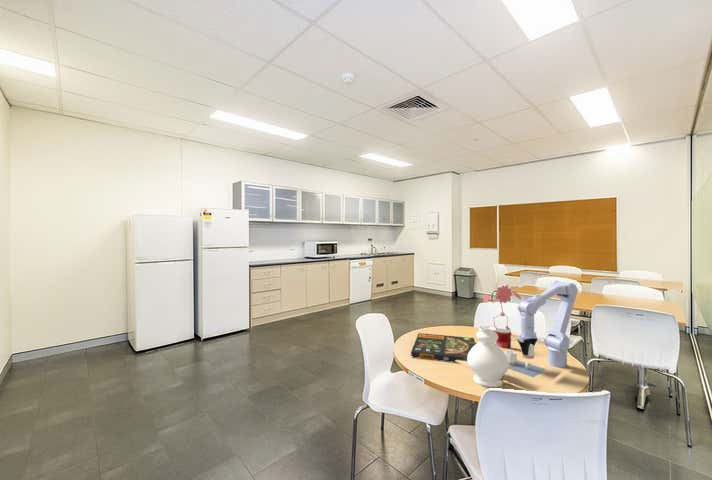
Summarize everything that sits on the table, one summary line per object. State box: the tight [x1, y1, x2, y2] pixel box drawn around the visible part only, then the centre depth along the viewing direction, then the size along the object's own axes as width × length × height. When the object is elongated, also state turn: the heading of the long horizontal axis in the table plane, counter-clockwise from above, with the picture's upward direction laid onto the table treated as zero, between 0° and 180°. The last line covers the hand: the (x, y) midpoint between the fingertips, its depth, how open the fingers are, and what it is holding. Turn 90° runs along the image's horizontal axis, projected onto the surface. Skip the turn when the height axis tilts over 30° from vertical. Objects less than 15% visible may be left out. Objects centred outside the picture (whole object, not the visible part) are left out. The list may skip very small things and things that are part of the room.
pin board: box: [508, 359, 547, 378], centre depth 152 cm, size 14×19×4 cm
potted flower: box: [482, 284, 522, 336], centre depth 201 cm, size 15×26×35 cm, turn 98°
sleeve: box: [521, 344, 535, 360], centre depth 149 cm, size 5×5×6 cm
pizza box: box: [410, 332, 476, 363], centre depth 180 cm, size 35×35×4 cm
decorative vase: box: [466, 324, 509, 388], centre depth 140 cm, size 18×18×25 cm
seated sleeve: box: [504, 349, 518, 366], centre depth 156 cm, size 5×5×6 cm
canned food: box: [495, 328, 512, 350], centre depth 181 cm, size 8×8×11 cm
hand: (527, 353), depth 149 cm, fingers closed on sleeve, 5 cm apart
